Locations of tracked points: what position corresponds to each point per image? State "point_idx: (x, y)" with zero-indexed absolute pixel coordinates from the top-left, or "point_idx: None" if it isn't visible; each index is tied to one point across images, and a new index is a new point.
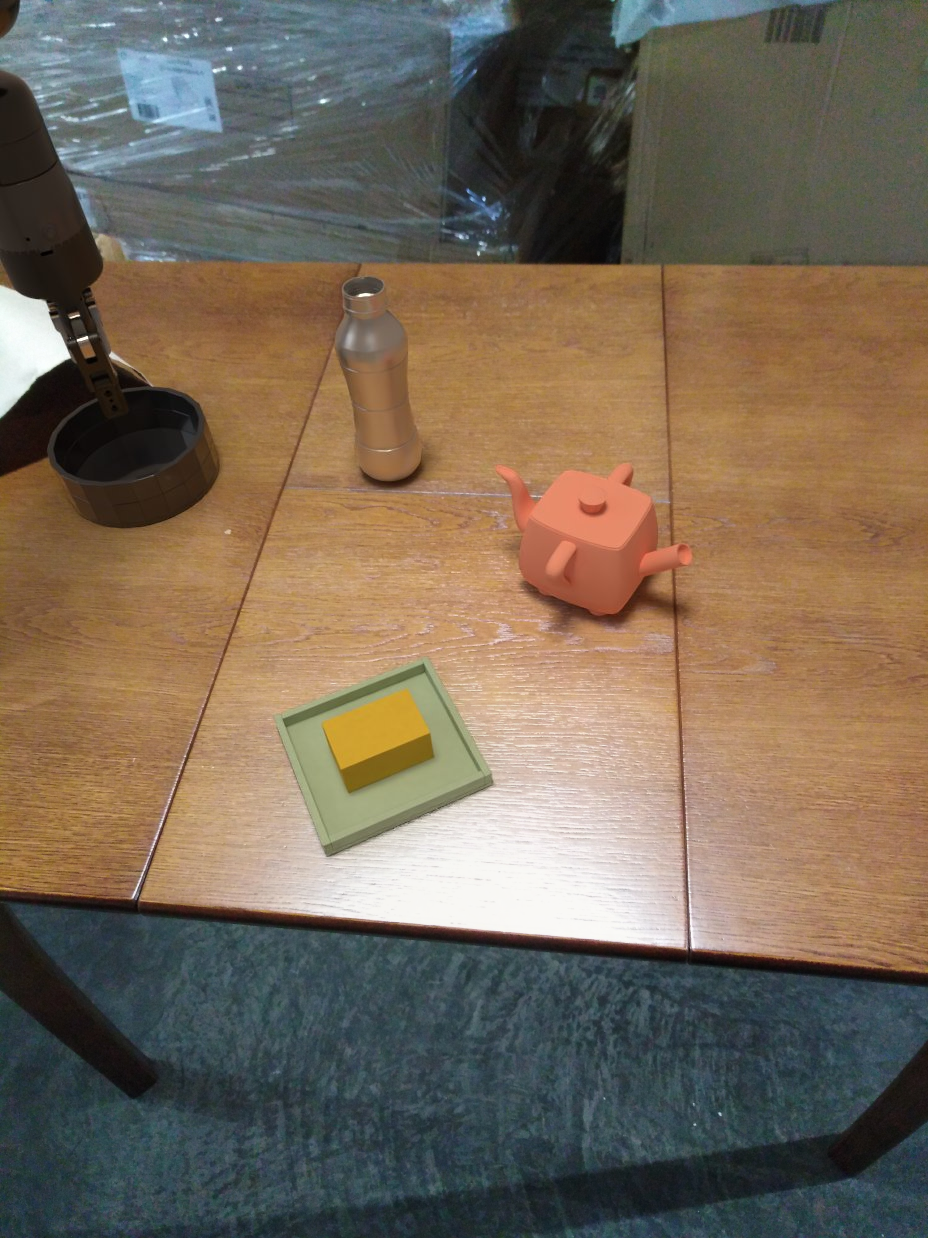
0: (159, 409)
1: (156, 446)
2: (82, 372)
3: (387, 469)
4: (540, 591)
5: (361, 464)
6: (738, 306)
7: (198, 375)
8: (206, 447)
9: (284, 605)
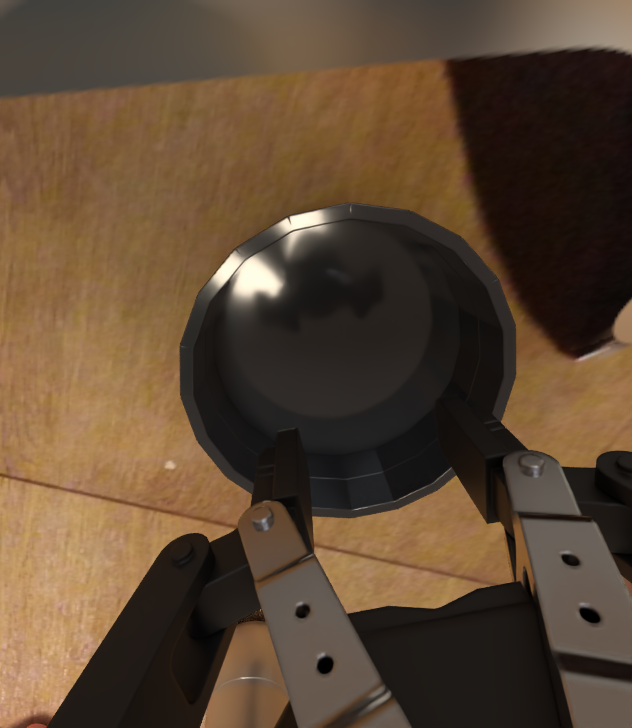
0: None
1: (399, 371)
2: (85, 670)
3: None
4: (30, 726)
5: (231, 643)
6: None
7: (576, 428)
8: None
9: (14, 524)
